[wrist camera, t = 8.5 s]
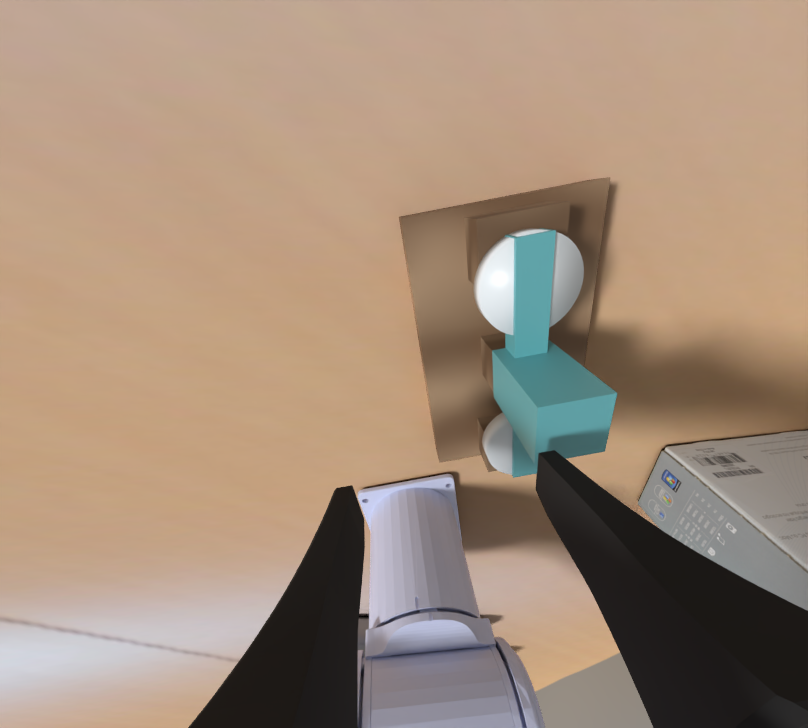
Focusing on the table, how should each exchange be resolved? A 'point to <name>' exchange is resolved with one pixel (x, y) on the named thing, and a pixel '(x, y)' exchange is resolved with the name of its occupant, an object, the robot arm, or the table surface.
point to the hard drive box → (739, 506)
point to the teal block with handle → (537, 354)
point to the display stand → (456, 308)
